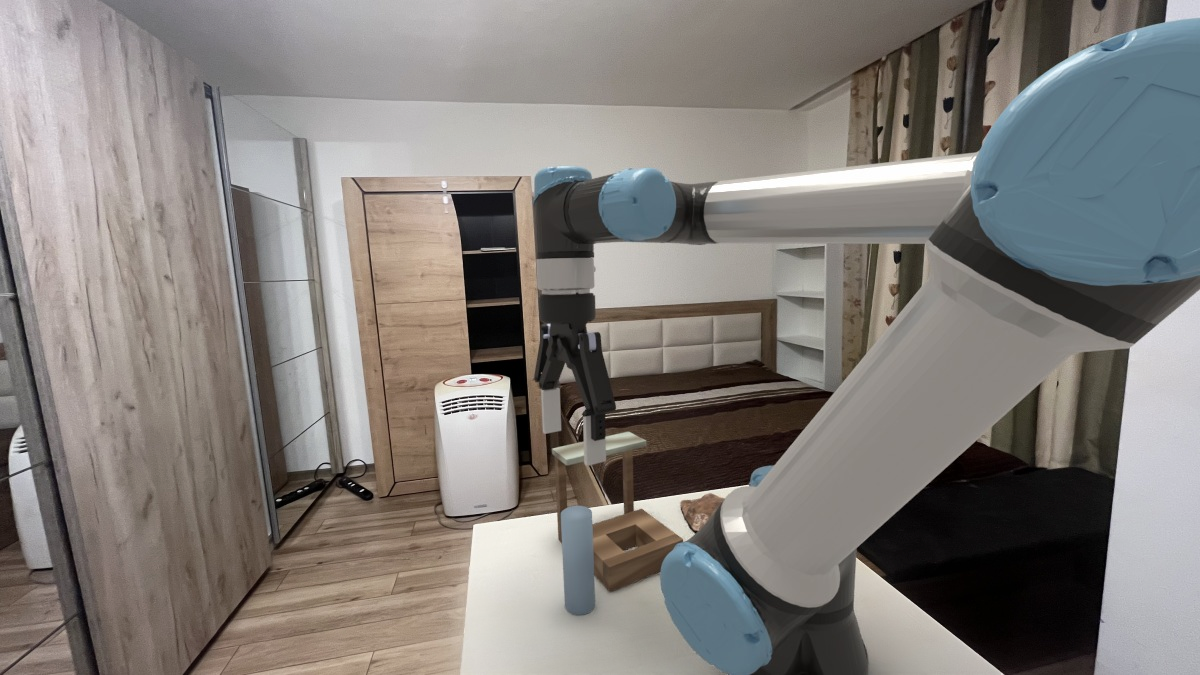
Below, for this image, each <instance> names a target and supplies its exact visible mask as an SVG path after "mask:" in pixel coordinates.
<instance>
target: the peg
mask: <svg viewBox="0 0 1200 675" xmlns="http://www.w3.org/2000/svg"><path fill="white" fill-rule="evenodd" d="M592 524H593V511H592V510H591V508H590V507H588V506H584V505H571V506H567V508H566V509H564V510H563V511H562V512H561V532H562V543H561V549H562V550H561V553H562V572H563V574H562V575H563V595H564V596H563V597H564V609H565V610H566V611H567V613H569V614H571V615H572V616H573V615H574V616H584V615H587V614H590V613H591V612H592V611H593V610H594V608H595V607H596V594H595V592H596V590H595V586H596V585H595V575H594V555H593V526H592Z"/></svg>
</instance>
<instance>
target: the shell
mask: <svg viewBox="0 0 1200 675" xmlns="http://www.w3.org/2000/svg"><path fill="white" fill-rule="evenodd" d="M725 498H726V497H725ZM725 498H724V497H721V496H719V495H716V494H714V493H713V492H709V493H706V494H704V495H703V496H702V497H701V498H700V497H699V498H696V499H682V500H681V501H680V503H679V504H680V511H681V514H682V515H683V520H684V521H685V523H687V526H688V528H689V530H691V531H692V533H694V534H696V533H697V532H698V531H699V530H700V529H701V528H702V527H703V526H704V524H705V523H706V522H707V521H708V519H709V518H710V517H711V515H712V514H713V513H714V512H715V510H716V509H717V508H718V507H719V505H720V504H721V503H722V502H723V500H724V499H725Z"/></svg>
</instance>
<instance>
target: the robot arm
mask: <svg viewBox="0 0 1200 675" xmlns="http://www.w3.org/2000/svg"><path fill="white" fill-rule="evenodd" d="M533 182H534V183H533V184H534V185H533V186H534V187H533V188H534V194H533V195H534V196H533V199H532V201H533V202H532V206H533V215H534V229H535V230H534V233H535V247H536V249H535V250H536V261H535V263H536V288H537V289H538V290H539V291H541V294H539V296H537V299H538V302H537V303H538V319H539V321H540V322H541V323H542V324H540V326H539V335H540V336H539V344H538V348H537V350H538V351H537V357H536V363H535V370H534V375H533V380H534V382H535V383H538V387H539V389H540V393H541V394H540V397H541V398H540V400H541V419H542V420H541V421H542V433H543V434H544V435H546V434H551V433H555V432H561V431H562V418H561V417H562V416H561V390H560V388H559V387H561V386H562V385H561V381H560V378H561V375H562V372H563V371H564V367H565V365H566V368H568V369H570V370H571V371H572V374H573V378H574V380H575V382H576V386H577V388H578V391H579V394H580V397H581V399H582V403H583V405H584V408H585V409H584V410H583V412H582V413H581V416H582V426H583V427H582V431H583V442H584V462H583V463H584V465H585V466H586V467H588V466H593V465H596V464H600V463H604V462H607V456H606V436H607V435H606V434H607V433H606V414H607V413H610V412H615V411H616V409H617V404H616V401H615V396H614V394H613V388H612V385H611V381H610V376H609V373H608V369H607V366H606V365H607V364H606V361H605V357H604V353H603V349H602V348H603V347H602V335H601V333H600V332H599V331H595V332H588V329H587V328H588V327H587V324H588V323H589V322H593V321H594V320H595V319H596V295H595V294H594V293H593V292H591V290H592V289H594V288H595V272H596V269H597V268H596V266H595V260H594V258H595V252H594V250H595V248H594V247H595V246H594V245H595V244H605V243H607V244H608V243H649V244H651V243H653V244H654V243H656V244H658V243H659V244H680V245H681V244H683V245H684V244H685V245H692V246H693V245H694V246H704V245H710V244H711V245H714V244H715V245H716V244H791V245H793V244H802V245H804V244H806V245H807V244H811V245H812V244H813V245H815V244H828V245H830V244H831V245H832V244H834V245H835V244H836V245H837V244H841V245H844V244H847V245H850V244H851V245H852V244H853V245H857V244H858V245H860V244H861V245H862V244H863V245H867V244H868V245H869V244H870V245H873V244H875V245H876V244H877V245H878V244H880V245H882V244H883V245H887V244H889V245H890V244H891V245H895V244H897V245H898V244H899V245H901V244H902V245H903V244H904V245H913V244H914V245H923V244H924V245H925V249H926V255H927V259H928V264H929V276H928V278H927V280H926V281H925V282H924V283H923V284H922V285H921V287H920V288H919V289H918V290H917V292H916V293H915V294H914V295H913V297H912V298H911V299H910V300H909V302H908V303H907V304H905V306H904V307H903V309H902V310H901V311H900V312H899V313H898V314H897V316H896V317H895V318H894V320H893V321H892V322H891V323H890V324H889V326H887V328H886V329H885V331H884V332H883V333H882V334H881V336H880V337H878V338H877V340H876V342H875V343H874V344H873V345H872V346H871V347H870V349H869V350H868V351H867V352H866V354H865V355H864V356H863V357H862V358H861V360H860V361H859V362H858V363H857V365H855V367H854V368H853V369H852V371H851V372H850V373H849V374H848V375H847V376H846V378H845V379H844V380H843V381H842V382H841V384H840V385H839V387H837V389H835V391H834V392H833V393H832V395H831V396H830V397H829V398H828V400H827V401H826V402H825V403H824V404H823V406H821V408H820V410H819V411H818V412H817V413H816V414H815V416H814V417H813V418H811V421H810V422H809V423H808V424H807V425H806V426H805V428H804V429H803V430H802V431H801V433H800V434H799V435H798V436H797V437H796V438H795V440H794V441H793V443H792V444H791V445H790V446H789V447H788V448H787V450H785V452H784V453H783V454H782V456H780V458H779V459H778V461H776V463H775V464H774V465H766V466H762V467H758V468H756V469H754V471H753V472H752V473H751V476H750V479H749V480H750V481H749V482H748V485H747V486H741V487H737V488H735V489H733V490H732V491H731V492H730V493H728V494H727V495H726V496H725V499H724V500H723V502H722V503H721V504H720V505H719V507H718V508H717V509H716V510H715V512H714V513H713V514H712V515H711V517H710V518H709V519H708V521H707V522H706V523H705V524H704V526H703V527H702V528H701V529H700V530H699V531H698V532H697V533H694V534H693V535H692V536H691V537H690V538H688V539H687V540H685V541H683V542H681V543H678V544H677V545H676V546H675V547H674V549H673V550H672V551H671V552H670V553H669V554H668V555H667V556H666V557H665V559H664V561H663V563H662V566H661V571H660V572H659V580H660V590H661V593H662V597H663V598H664V605H665V607H666V609H667V612H668V615H669V616H670V619H671V621H672V622H673V624H674V626H675V627H676V629H677V630H678V632H679V634H680V635H681V636H682V638H683V639H684V641H685V642H686V643H687V644H688V646H689V647H690V648H691V649H692V650H693V651H694V652H695V653H696V654H697V656H699V657H700V658H701V659H702V660H703V661H705V662H706V663H707V664H708V665H710V666H713V667H715V668H716V669H717V670H719V671H720V672H722V673H724V674H727V675H869V664H870V663H869V655H868V650H867V646H866V645H865V642H864V639H863V637H862V634H861V629H860V626H859V622H858V620H857V616H856V613H855V609H854V608H855V606H854V604H855V602H854V601H855V587H856V586H855V584H856V565H857V550H858V549H857V548H858V547H860V545H861V544H863V543H864V542H866V540H867V539H868V538H869V537H870V536H872V535H873V534H874V533H875V532H876V531H877V530H878V529H880V528H881V527H882V526H883V525H884V524H885V523H886V522H887V521H889V520H890V519H891V518H892V517H893V516H894V515H895V514H896V513H897V512H899V511H900V510H901V509H902V508H903V507H904V506H905V505H906V504H908V503H909V501H911V500H912V499H913V498H914V497H915V496H916V495H918V494H919V493H920V492H921V491H922V490H923V489H924V488H925V487H926V486H927V485H929V483H931V482H932V481H933V480H934V479H935V478H936V477H937V476H939V475H940V474H941V473H942V472H943V471H944V470H945V469H946V468H948V467H949V466H950V465H951V464H952V463H953V462H954V461H955V460H956V459H957V458H959V456H961V455H962V454H963V453H964V452H965V451H966V450H967V449H969V448H970V447H971V446H972V445H973V444H974V443H975V442H976V441H977V440H979V439H980V438H981V437H982V436H983V435H984V434H985V433H987V432H988V431H989V429H991V428H992V427H993V426H994V425H995V424H996V423H998V422H999V421H1000V420H1001V419H1002V418H1003V417H1004V416H1006V415H1007V414H1008V413H1009V412H1010V411H1011V410H1012V409H1014V407H1015V406H1017V405H1018V404H1019V403H1020V402H1021V401H1022V400H1024V398H1026V397H1027V396H1028V395H1029V394H1030V393H1031V392H1033V390H1035V389H1036V388H1037V387H1038V386H1039V385H1040V384H1041V383H1042V382H1043V381H1045V380H1046V379H1047V378H1048V377H1049V376H1050V375H1051V374H1052V373H1054V371H1055V370H1057V369H1058V368H1059V367H1060V366H1062V364H1063V363H1064V362H1066V361H1067V360H1068V359H1070V357H1072V356H1073V355H1077V354H1080V353H1087V352H1100V351H1110V350H1111V351H1113V350H1125V349H1130V348H1132V347H1133V346H1134V345H1135V344H1136V343H1138V342H1139V341H1140V340H1142V339H1143V338H1144V337H1145V336H1146V335H1147V334H1148V333H1150V332H1151V331H1153V329H1154V328H1155V327H1157V326H1158V325H1160V323H1162V322H1163V321H1164V320H1165V319H1167V318H1168V317H1169V316H1170V315H1171V314H1173V313H1174V312H1175V311H1176V310H1177V309H1178V308H1180V307H1181V306H1183V304H1185V302H1187V301H1188V300H1189V299H1190V298H1192V297H1193V296H1194V295H1195V294H1196V293H1198V292H1199V291H1200V17H1194V18H1185V19H1177V20H1172V21H1166V22H1162V23H1160V22H1159V23H1156V24H1152V25H1148V26H1144V27H1143V26H1142V27H1140V28H1136V29H1133V30H1130V31H1127V32H1125V33H1122V34H1118V35H1115V36H1112V37H1111V38H1108V39H1106V40H1103V41H1101V42H1099V43H1096V44H1092V45H1091V46H1089V47H1086V48H1085V49H1082V50H1080V51H1078V52H1076V53H1075V54H1073V55H1071V56H1069V57H1068V58H1066V59H1064V60H1063V61H1061V62H1059V63H1057V64H1056V65H1054V66H1052V67H1051V68H1050V69H1049V70H1047V71H1046V72H1044V73H1043V74H1042V75H1040V76H1039V77H1037V78H1036V79H1035V80H1034V81H1032V82H1031V83H1030V84H1029V85H1027V86H1026V87H1025V88H1024V89H1023V90H1022V91H1021V92H1020V93H1019V94H1018V95H1017V96H1016V97H1015V98H1014V99H1013V100H1012V101H1011V102H1010V103H1009V104H1008V105H1007V106H1006V107H1005V109H1004V110H1003V111H1002V112H1001V114H1000V115H999V116H998V117H997V119H996V120H995V122H994V123H993V124H992V126H991V128H990V129H989V131H988V133H987V135H986V136H985V138H984V141H983V143H982V145H981V147H980V149H979V150H978V151H976V152H968V153H960V154H959V153H958V154H950V155H944V156H943V155H941V156H934V157H933V156H932V157H925V158H915V159H906V160H898V161H897V160H896V161H889V162H880V163H879V162H878V163H871V164H862V165H861V164H859V165H852V166H843V167H842V166H841V167H834V168H826V169H817V170H815V169H814V170H808V171H799V172H789V173H780V174H772V175H771V174H770V175H763V176H762V175H761V176H755V177H744V178H735V179H727V180H718V181H709V182H708V181H707V182H700V183H699V182H698V183H683V182H675V181H671V180H670V179H669V178H668V177H666V176H665V175H664V174H663V172H662V171H660V170H659V169H657V168H654V167H641V168H640V167H639V168H625V169H623V170H620V171H617V172H615V173H611V174H606V175H603V176H598V177H594V178H593V176H592V173H591V171H590V170H588V169H587V168H586V167H585V168H584V167H581V166H574V165H557V166H549V167H545V168H542V169H540V170H538V171H537V172H536V174H535V176H534V180H533ZM543 323H544V324H543Z"/></svg>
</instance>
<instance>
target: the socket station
mask: <svg viewBox="0 0 1200 675" xmlns="http://www.w3.org/2000/svg"><path fill="white" fill-rule="evenodd" d="M647 442H648V441H647V439H644V438H642V437H640V436H638V435H636V434H635V433H632V432H630V431H625V432H620V433H616V434H611V435H606V457H607V456H611V455H615V454H619V453H622V484H623V486H622V487H623V490H622V491H623V493H622V494H623V514H621V515H620V514H619V515H617V516H615V517H610V518H608V519H605V520H602V521H599V522H595V523H592V526H593V555H594V577H596V579H598V580H599V582H600V583H601V584H602V585H603V586H604V587H605V589H607V591H608V592H609V593H612V592H613V591H616V590H618V589H621V588H623V587H626V586H628V585H631V584H634V583H635V582H638V581H641V580H643V579H646V578H649V577H650V576H653V575H655V574H657V573H660V571H661V566H662V563H663V561H664V559H665V557H666V556H667V555H668V554H669V553H670V552H671V551H672V550H673V549H674V547H675V546H676V545H677V544H678V543H681V542H684V539H683V538H682V537H681V536H680V535H678V534H677V533H676V532H674V531H673V530H671V529H670V528H669V527H668V526H666V524H665V525H664V523H662V522H660V521H659V520H658V519H657V518H655V517H654V516H653V515H652V514H650V513H648V512H647V511H646V510H644V509H643V508H639V509H637V510H636V509H635V508H634V507H635V506H634V505H635V500H634V458H633V457H634V454H633V450H636V449H640V448H645V447H647ZM551 454H552V455H553V456H554V474H555V491H556V492H555V494H556V495H555V497H556V498H555V499H556V517H557V535H558V536H557V537H558V538H557V539H558V540H559V541H560V543H561V544H562V532H561V512H562V511H563V510H564V509H566V508H568V496H567V495H568V493H567V492H568V491H567V472H566V470H567V469H566V468H567V467H566V466H571V465H575V464H579V463H584V441H579V442H576V443H572V444H567V445H563V446H557V447H554V448H551ZM634 547H635V548H634ZM631 548H633V549H631ZM628 549H630V550H628ZM627 550H628V551H627Z"/></svg>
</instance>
